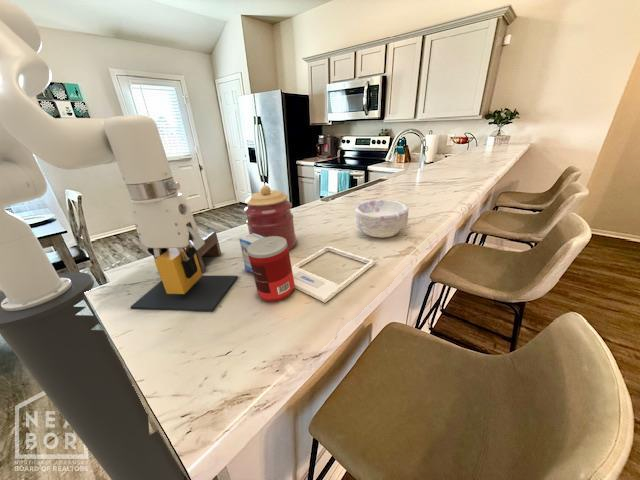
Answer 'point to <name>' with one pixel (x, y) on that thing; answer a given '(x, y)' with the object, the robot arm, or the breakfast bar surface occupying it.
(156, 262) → the tea packet
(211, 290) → the counter mat
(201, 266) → the shelf stand
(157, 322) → the breakfast bar surface
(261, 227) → the kitchen canister
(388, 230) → the white purple bowl
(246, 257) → the medicine box
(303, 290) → the photo frame
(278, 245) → the canned food
